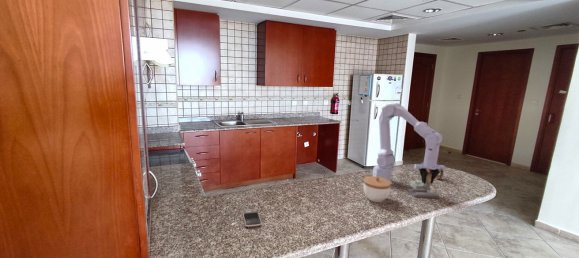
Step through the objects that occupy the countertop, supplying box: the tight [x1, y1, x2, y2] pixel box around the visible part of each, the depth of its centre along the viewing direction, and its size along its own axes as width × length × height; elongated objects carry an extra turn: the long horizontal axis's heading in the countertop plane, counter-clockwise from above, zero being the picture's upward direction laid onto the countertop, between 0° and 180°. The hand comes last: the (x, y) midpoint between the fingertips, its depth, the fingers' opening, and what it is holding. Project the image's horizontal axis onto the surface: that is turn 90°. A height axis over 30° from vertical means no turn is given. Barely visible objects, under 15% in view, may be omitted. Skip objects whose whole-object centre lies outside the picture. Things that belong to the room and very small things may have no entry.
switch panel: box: [407, 188, 439, 199], centre depth 136 cm, size 12×7×2 cm, turn 91°
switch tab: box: [427, 185, 435, 193], centre depth 135 cm, size 2×3×3 cm, turn 1°
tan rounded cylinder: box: [423, 172, 432, 190], centre depth 134 cm, size 3×3×8 cm
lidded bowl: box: [363, 175, 392, 203], centre depth 129 cm, size 13×13×11 cm
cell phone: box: [242, 211, 262, 228], centre depth 107 cm, size 6×11×1 cm, turn 16°
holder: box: [410, 180, 423, 189], centre depth 144 cm, size 6×6×3 cm
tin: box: [419, 161, 444, 180], centre depth 162 cm, size 15×3×8 cm, turn 25°
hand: (426, 182), depth 134 cm, fingers closed on tan rounded cylinder, 3 cm apart
